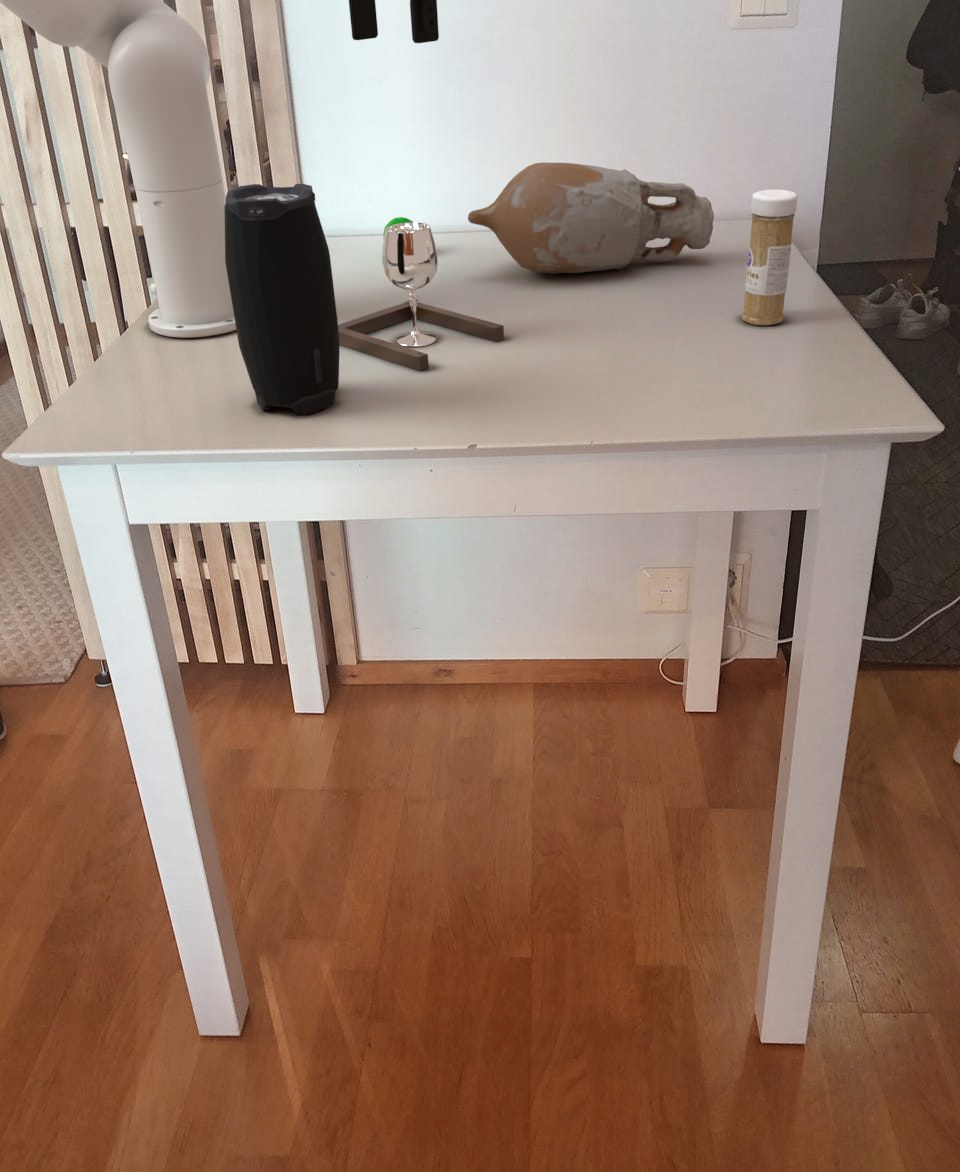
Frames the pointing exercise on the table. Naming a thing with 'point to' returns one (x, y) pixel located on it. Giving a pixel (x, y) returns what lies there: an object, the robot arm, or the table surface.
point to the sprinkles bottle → (769, 256)
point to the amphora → (592, 218)
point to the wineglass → (410, 269)
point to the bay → (357, 328)
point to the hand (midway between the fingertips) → (394, 40)
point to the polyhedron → (397, 222)
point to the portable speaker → (282, 296)
